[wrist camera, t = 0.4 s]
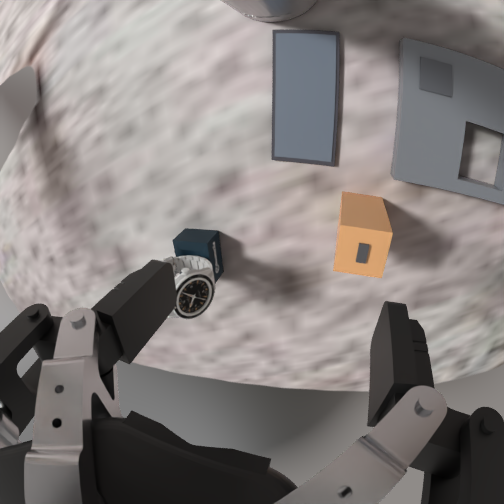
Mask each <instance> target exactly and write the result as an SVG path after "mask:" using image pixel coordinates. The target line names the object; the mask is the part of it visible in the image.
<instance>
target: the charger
mask: <svg viewBox="0 0 504 504" xmlns="http://www.w3.org/2000/svg"><path fill="white" fill-rule="evenodd" d="M392 234H393V232H392V228H391V225H390V222H389V218H388V215H387V212H386V209H385V205H384V202H383V199H382V197H376V196H369V195H363V194H356V193H350V192H342V198H341V206H340V214H339V222H338V230H337V241H336V251H335V260H334V269H333V271H337V272H344V273H350V274H357V275H364V276H370V277H377V278H382V275H383V271H384V267H385V263H386V260H387V256H388V251H389V247H390V243H391V239H392Z"/></svg>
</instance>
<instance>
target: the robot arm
mask: <svg viewBox="0 0 504 504" xmlns="http://www.w3.org/2000/svg"><path fill="white" fill-rule="evenodd" d="M221 1H223V2H224V3H226V4H227V5H229V6H230V7H232V8H234V9H235V10H237V11H238V12H240V13H241V14H243V15H244V16H246V17H249V18H251V19H253V20H258V21H262V22H278V21H285V20H288V19H292V18H295V17H297V16H299V15H301V14H303V13H304V12H306V11H307V10H308V9H310V8H311V7H312V6H313V5H314V3H315V2H316V1H317V0H221ZM176 302H177V292H176V285H175V279H174V272H173V267H172V264H171V263H168V262H163V261H158V260H151V261H150V262H149V263H148V264H146V265H145V266H144V267H143V268H142V269H140V270H137V271H135V272H133V273H131V274H129V275H128V276H127V277H126V278H125V279H123V280H122V281H121V283H119V284H118V285H117V286H116V287H114V289H112V290H111V291H110V292H109V293H108V294H107V295H106V296H105V297H103V298H102V299H101V300H100V301H99V302H98V303H97V304H96V305H95V306H94V307H93V308H91V309H89V308H77V309H74V310H72V311H70V312H68V313H67V314H66V315H65V316H64V317H55V316H51V314H50V312H49V309H48V307H47V306H46V305H44V304H34V305H31V306H29V307H28V308H26V309H25V310H24V311H23V312H22V313H20V314H19V315H18V316H17V317H16V318H15V319H14V320H13V321H12V322H11V323H10V324H9V325H8V326H7V327H6V328H5V329H4V330H3V331H2V332H0V504H378V503H379V502H380V501H381V500H382V499H383V498H384V497H385V496H386V495H387V494H388V493H389V492H390V491H391V490H392V489H393V487H395V485H396V484H397V483H398V482H399V481H400V480H401V479H402V477H403V476H404V475H405V473H406V472H407V470H406V469H407V468H408V467H412V468H415V469H418V470H421V471H424V482H423V491H422V500H421V504H504V421H503V418H502V417H501V415H500V414H499V413H498V412H497V411H496V410H494V409H492V408H489V407H481V408H478V409H477V410H476V411H474V413H473V414H472V415H471V416H470V415H467V414H464V413H461V412H458V411H455V410H453V409H450V408H448V407H447V404H446V401H445V398H444V397H443V395H442V394H441V393H440V392H439V391H437V390H436V389H435V388H434V382H433V375H432V369H431V363H430V357H429V354H428V347H427V344H426V337H425V332H424V330H423V328H422V327H421V325H420V324H419V323H418V321H417V320H412V319H409V317H408V311H407V306H406V304H402V303H395V302H389V301H385V302H384V305H383V307H382V310H381V313H380V316H379V319H378V322H377V325H376V328H375V331H374V334H373V337H372V342H371V349H370V390H369V410H368V423H367V426H370V427H374V428H373V429H372V430H371V431H370V432H369V433H368V434H367V435H366V436H364V437H363V436H362V437H360V438H359V439H358V440H357V441H355V442H354V443H353V444H352V445H351V446H350V447H349V448H347V449H346V450H345V451H344V452H343V453H342V454H341V455H339V456H338V457H337V458H336V459H335V460H333V461H332V462H331V463H330V464H328V465H327V466H326V467H325V468H324V469H322V470H321V471H320V472H318V473H317V474H316V475H314V476H313V477H312V478H310V479H309V480H308V481H307V482H305V483H304V484H302V485H301V486H299V487H297V486H296V485H295V484H294V483H293V482H292V481H291V480H290V479H288V478H287V477H286V476H285V475H283V474H281V473H280V472H278V471H276V470H274V469H272V468H270V461H271V459H270V458H265V457H261V456H257V455H253V454H250V453H246V452H242V451H238V450H235V449H227V448H215V447H205V446H196V445H192V444H189V443H188V442H186V441H185V440H183V439H181V438H180V437H179V436H177V435H176V434H174V433H173V432H172V431H170V430H169V429H168V428H166V427H165V426H164V425H162V424H161V423H158V422H156V421H154V420H151V419H149V418H147V417H144V416H142V415H140V414H138V413H136V412H134V411H131V412H130V414H129V415H128V416H127V418H123V417H122V414H121V411H120V407H119V398H118V397H119V396H118V381H117V367H116V365H115V364H116V362H117V361H118V360H121V361H123V362H126V363H128V364H130V363H131V362H132V361H133V360H134V358H135V357H136V356H137V354H138V353H139V352H140V351H141V349H142V348H143V347H144V346H145V344H146V343H147V342H148V341H149V339H150V338H151V337H152V336H153V334H154V333H155V332H156V331H157V329H158V328H159V327H160V326H161V324H162V323H163V322H164V321H165V320H166V318H167V317H168V316H169V315H170V313H171V312H172V311H173V310H174V308H175V305H176ZM32 347H33V348H34V350H35V352H36V353H37V355H38V357H39V358H38V359H37V361H36V362H35V363H34V364H33V365H32V366H31V367H30V369H29V370H28V371H27V372H26V373H25V374H24V375H23V377H22V378H20V377H19V376H18V374H17V364H18V363H19V361H20V360H21V359H22V358H23V357H24V356H25V355H26V353H28V351H29V350H30V349H31V348H32ZM33 417H34V426H33V438H32V440H31V441H27V442H23V443H22V442H21V441H20V440H19V436H20V435H21V433H22V432H23V430H24V429H25V428H26V426H27V425H28V424H29V422H30V421H31V419H32V418H33Z"/></svg>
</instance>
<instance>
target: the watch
mask: <svg viewBox="0 0 504 504" xmlns="http://www.w3.org/2000/svg"><path fill="white" fill-rule="evenodd" d="M173 245H174V249H175V254H176V257H174V258H173V257H172V256H171V257H169V258H166V259H163V260H161V261H163V262H168V263H171V264H172V267H173V272H174V277H175V276H176V274H177V273H180V274H179V275H178V276H177V277H176V278H175V285H176V292H177V302H176V305H175V308H174V310H173V311H172V312H171V313H170V315H169V316H168V318H182V319H192V318H196V317H198V316H199V315H201V314H202V313H203V312H204V311H205V310H206V309H207V308H208V307H209V305H210V304H211V302H212V300H213V297H214V293H215V283H216V282H217V280H218V279H219V277H220V276H221V274H222V273H223V263H222V256H221V248H220V240H219V232H218V231H215V230H201V229H184V230H183V231H182V232H181V233H180V234H179V235H178V236H177V237H176V238H175V239H173ZM176 267H177V268H176Z"/></svg>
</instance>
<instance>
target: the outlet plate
mask: <svg viewBox="0 0 504 504" xmlns="http://www.w3.org/2000/svg"><path fill="white" fill-rule="evenodd" d="M466 121H467V122H470V123H474V124H477V125H480V126H483V127H486V128H489V129H491V130H494V131H497V132H500V133H502V134H503V136H502V143H501V150H500V156H499V162H498V168H497V173H496V178H495V183H494V185H492V184H488V183H485V182H481V181H478V180H474V179H470V178H467V177H463V176H459V175H458V173H459V168H460V162H461V156H462V149H463V142H464V134H465V125H466ZM391 176H392V177H393V179H394V180H399V181H405V182H410V183H415V184H420V185H425V186H430V187H435V188H439V189H444V190H448V191H453V192H457V193H461V194H465V195H469V196H473V197H477V198H481V199H485V200H489V201H492V202H496V203H499V204H503V205H504V69H502V68H499V67H497V66H495V65H492V64H490V63H487V62H485V61H482V60H480V59H477V58H474V57H471V56H469V55H466V54H463V53H460V52H457V51H454V50H450V49H447V48H444V47H440V46H437V45H433V44H429V43H425V42H421V41H417V40H413V39H408V38H404V37H403V38H402V39H401V40H400V41H399V92H398V109H397V122H396V133H395V143H394V151H393V160H392V167H391Z"/></svg>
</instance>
